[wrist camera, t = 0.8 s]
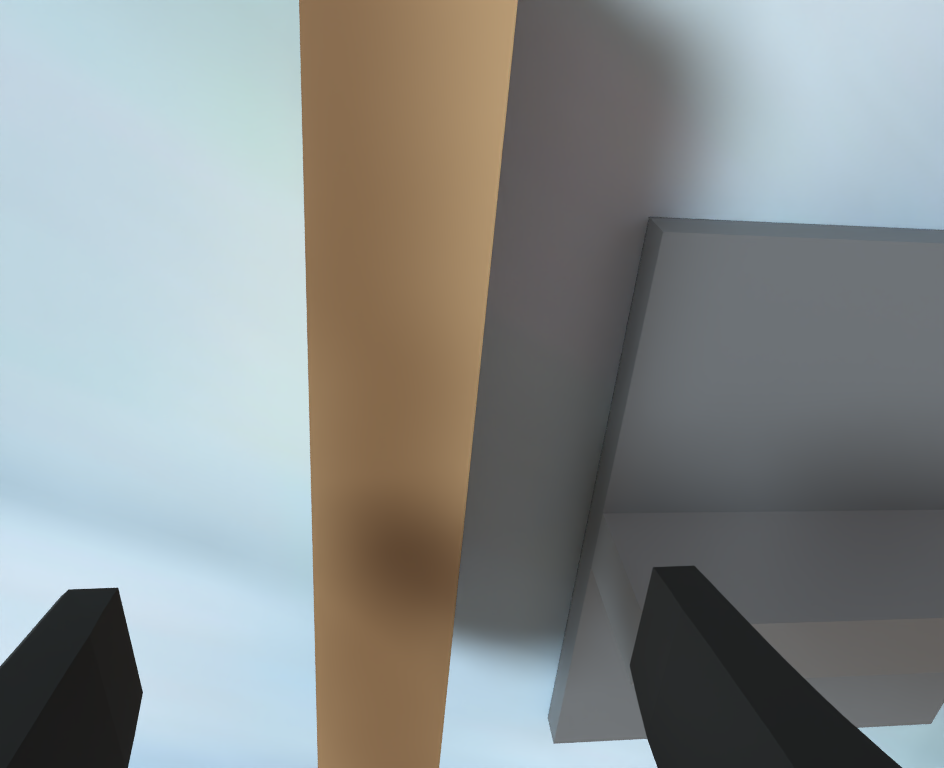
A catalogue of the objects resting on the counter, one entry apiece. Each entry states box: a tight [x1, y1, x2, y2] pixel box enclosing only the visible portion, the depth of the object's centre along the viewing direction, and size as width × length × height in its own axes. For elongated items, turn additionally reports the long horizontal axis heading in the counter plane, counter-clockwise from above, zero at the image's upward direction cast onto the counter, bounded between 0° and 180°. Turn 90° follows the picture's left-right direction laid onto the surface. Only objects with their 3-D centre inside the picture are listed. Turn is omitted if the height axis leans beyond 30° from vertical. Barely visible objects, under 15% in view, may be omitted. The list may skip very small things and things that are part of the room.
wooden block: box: [299, 0, 518, 768], centre depth 16 cm, size 3×18×6 cm, turn 175°
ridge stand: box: [548, 217, 944, 744], centre depth 21 cm, size 14×18×5 cm
